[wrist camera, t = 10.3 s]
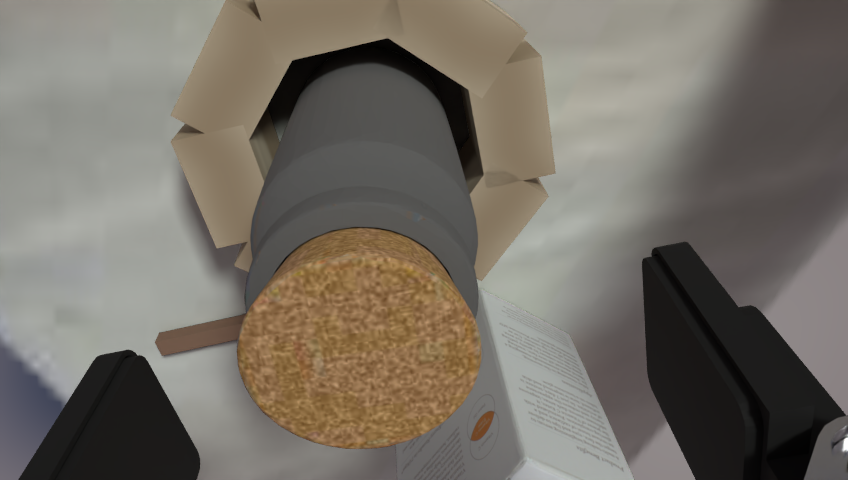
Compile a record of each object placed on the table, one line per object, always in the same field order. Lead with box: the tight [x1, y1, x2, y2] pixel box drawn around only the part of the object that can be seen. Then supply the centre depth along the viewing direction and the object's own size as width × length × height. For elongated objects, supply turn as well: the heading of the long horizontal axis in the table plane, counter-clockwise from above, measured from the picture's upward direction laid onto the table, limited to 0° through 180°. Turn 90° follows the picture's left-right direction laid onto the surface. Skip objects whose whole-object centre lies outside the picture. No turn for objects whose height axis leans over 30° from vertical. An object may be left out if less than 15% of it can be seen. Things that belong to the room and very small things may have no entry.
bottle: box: [237, 47, 481, 449], centre depth 19 cm, size 6×6×15 cm
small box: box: [396, 289, 635, 480], centre depth 27 cm, size 8×6×10 cm
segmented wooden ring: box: [171, 0, 555, 281], centre depth 24 cm, size 12×12×4 cm
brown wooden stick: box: [155, 314, 246, 356], centre depth 29 cm, size 10×1×1 cm, turn 102°
